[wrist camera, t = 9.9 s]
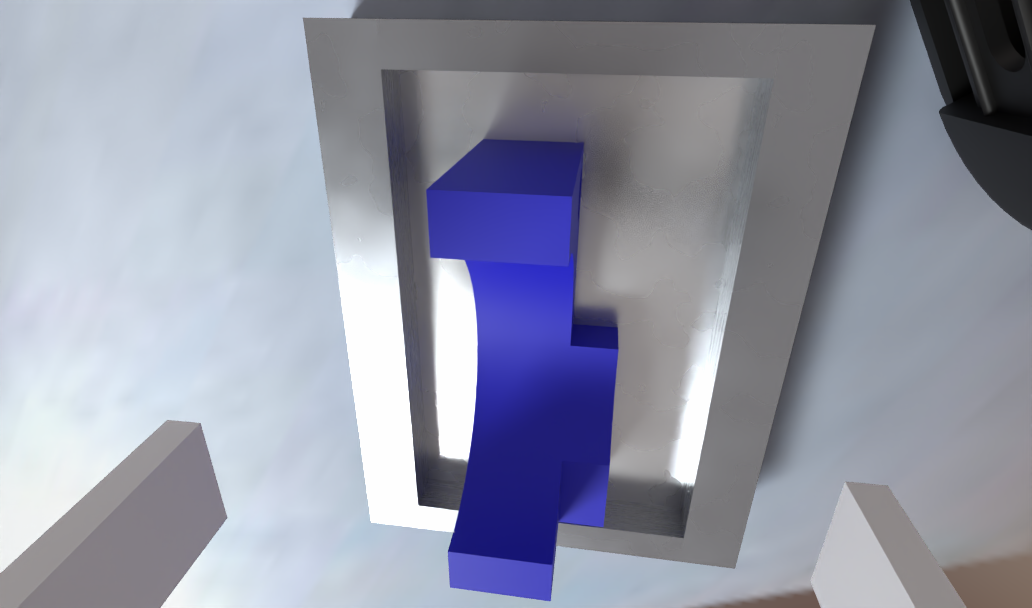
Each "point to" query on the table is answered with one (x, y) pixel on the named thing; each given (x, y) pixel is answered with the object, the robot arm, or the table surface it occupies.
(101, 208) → the table surface
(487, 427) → the cable clip
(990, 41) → the end cap
